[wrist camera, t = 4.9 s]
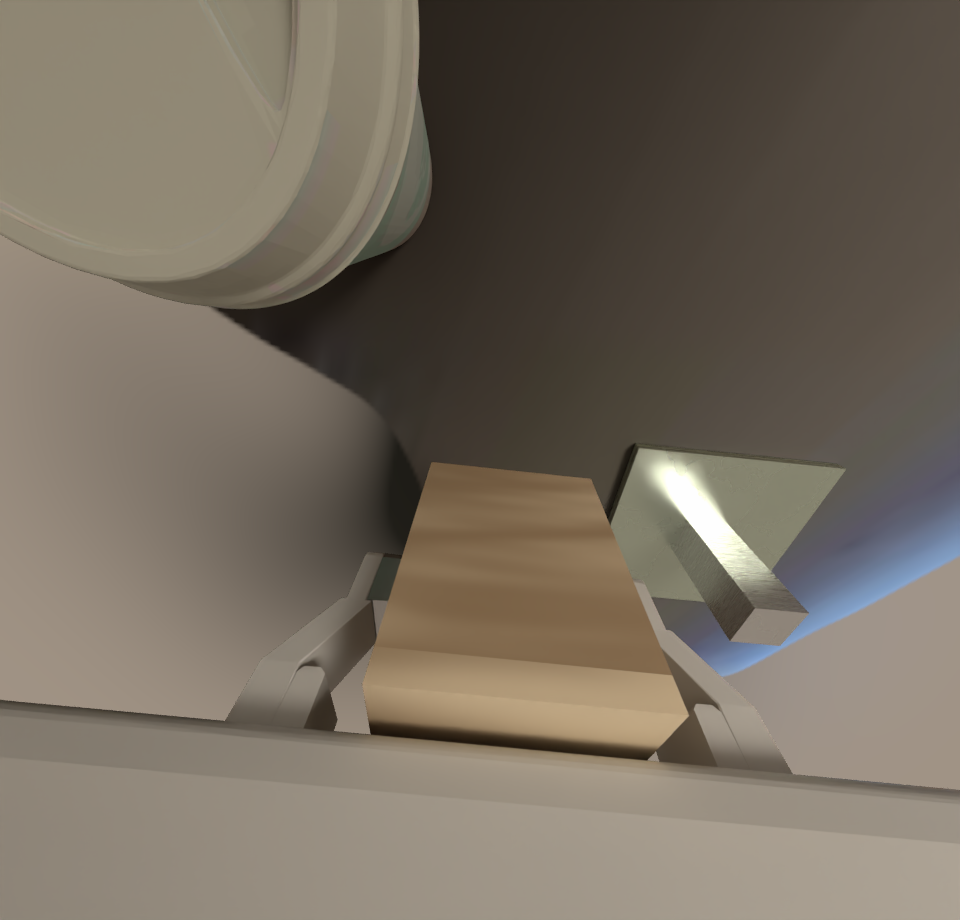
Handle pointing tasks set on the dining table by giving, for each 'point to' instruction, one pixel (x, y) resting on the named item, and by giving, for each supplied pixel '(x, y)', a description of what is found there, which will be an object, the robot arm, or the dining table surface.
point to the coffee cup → (212, 141)
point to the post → (718, 531)
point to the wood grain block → (518, 624)
